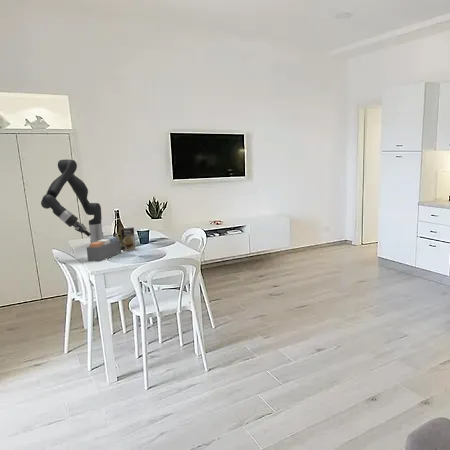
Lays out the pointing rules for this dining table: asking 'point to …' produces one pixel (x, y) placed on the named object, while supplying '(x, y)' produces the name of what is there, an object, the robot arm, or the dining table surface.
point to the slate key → (112, 239)
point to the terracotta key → (96, 244)
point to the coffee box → (128, 239)
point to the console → (103, 251)
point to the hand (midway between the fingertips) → (89, 235)
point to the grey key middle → (104, 241)
